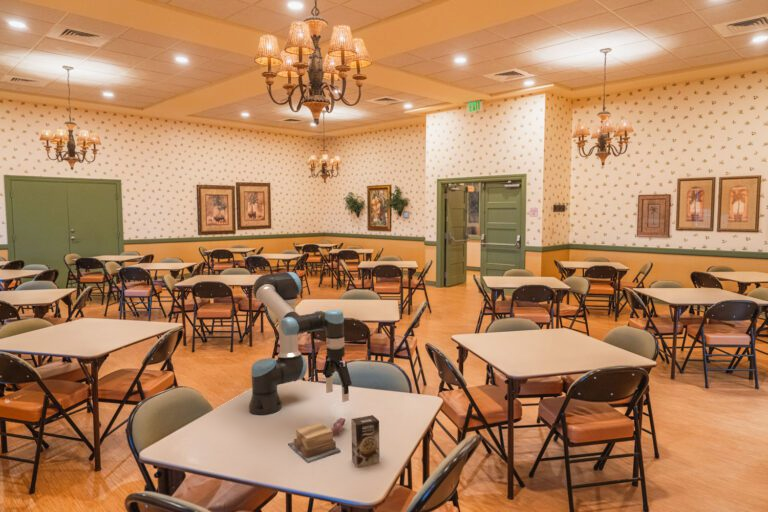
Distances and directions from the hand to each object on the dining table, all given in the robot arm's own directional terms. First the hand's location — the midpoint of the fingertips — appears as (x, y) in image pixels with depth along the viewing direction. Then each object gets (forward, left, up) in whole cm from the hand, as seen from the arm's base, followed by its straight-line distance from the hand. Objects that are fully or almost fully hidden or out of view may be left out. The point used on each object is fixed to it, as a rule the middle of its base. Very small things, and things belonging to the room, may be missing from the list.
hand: (337, 396), depth 207 cm
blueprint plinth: (+7, -15, -16) cm, 23 cm away
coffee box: (+28, -4, -16) cm, 32 cm away
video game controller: (0, 0, -16) cm, 16 cm away
